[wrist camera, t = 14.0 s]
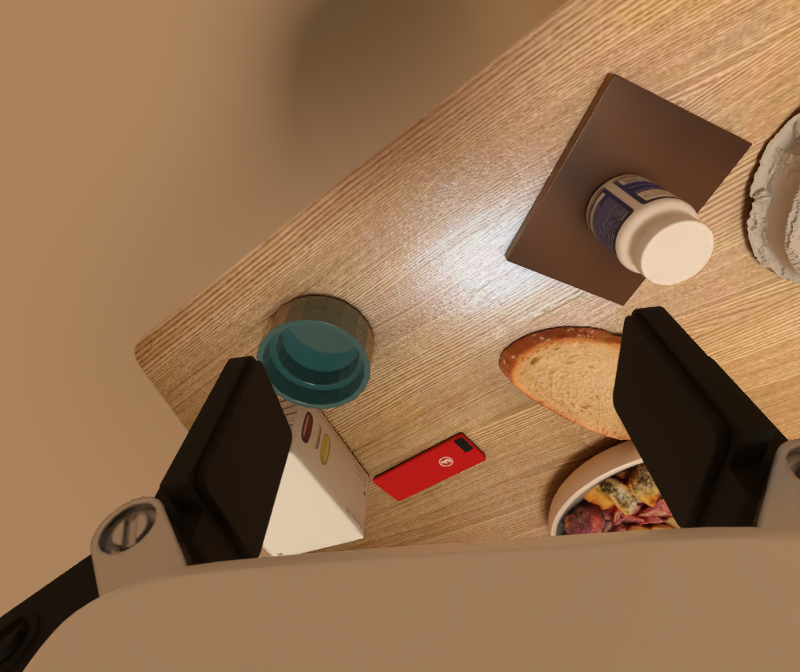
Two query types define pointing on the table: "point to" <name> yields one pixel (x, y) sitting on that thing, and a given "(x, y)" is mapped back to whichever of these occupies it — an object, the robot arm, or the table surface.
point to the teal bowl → (317, 352)
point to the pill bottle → (649, 229)
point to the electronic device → (430, 467)
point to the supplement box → (316, 489)
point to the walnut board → (611, 157)
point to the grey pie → (778, 204)
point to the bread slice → (569, 375)
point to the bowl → (609, 497)
